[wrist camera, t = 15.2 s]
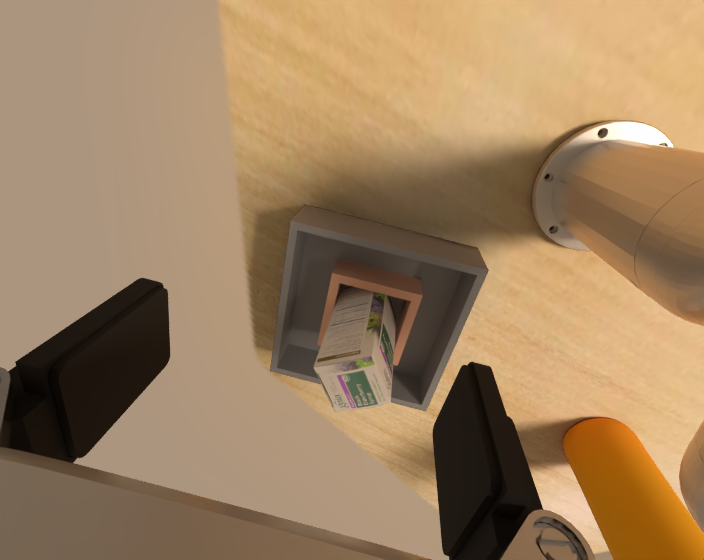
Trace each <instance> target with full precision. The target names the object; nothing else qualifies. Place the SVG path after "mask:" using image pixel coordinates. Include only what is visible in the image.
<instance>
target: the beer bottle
mask: <svg viewBox="0 0 704 560" xmlns="http://www.w3.org/2000/svg"><path fill="white" fill-rule="evenodd" d="M563 449H564V452H565V455H566V458H567V460H568V462H569V464H570V466H571V468H572V470H573V472H574V474H575V476H576V478H577V480H578V483H579V485H580V487H581V489H582V491H583V494H584V496H585V498H586V500H587V502H588V504H589V507H590V509H591V511H592V513H593V515H594V518H595V520H596V522H597V524H598V526H599V529H600V531H601V533H602V535H603V537H604V540H605V542H606V544H607V546H608V548H609V550H610V553H611V555H612V557H613V559H614V560H704V534H703V532H702V531H701V529H700V528H699V527H698V525H697V524H696V522H695V521H694V519H693V518H692V516H691V515H690V514H689V512H688V511H687V509H686V508H685V506H684V505H683V503H682V502H681V500H680V499H679V498H678V496H677V495H676V493H675V492H674V490H673V489H672V487H671V486H670V485H669V483H668V482H667V480H666V479H665V477H664V476H663V474H662V473H661V472H660V470H659V469H658V467H657V466H656V464H655V463H654V461H653V460H652V459H651V457H650V456H649V454H648V453H647V451H646V450H645V448H644V446H643V445H642V443H641V442H640V440H639V439H638V437H637V436H636V434H635V433H634V432H633V431H632V430H631V429H630V428H629V427H628V426H626V425H625V424H623V423H621V422H619V421H616V420H613V419H608V418H594V419H588V420H585V421H582V422H580V423H578V424H576V425H574V426H573V427H572V428H570V429H569V430H568V432H567V433H566V434H565V436H564V439H563Z"/></svg>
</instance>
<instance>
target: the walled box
mask: <svg viewBox="0 0 704 560" xmlns="http://www.w3.org/2000/svg"><path fill="white" fill-rule="evenodd" d="M488 271H489V270H488V268H487V266H486V264H485V262H484V260H483V258H482V256H481V254H480V252H479V250H478V248H476V247H472V246H468V245H464V244H460V243H456V242H452V241H448V240H444V239H440V238H436V237H432V236H428V235H424V234H420V233H416V232H412V231H408V230H404V229H400V228H396V227H392V226H388V225H384V224H380V223H376V222H372V221H368V220H364V219H360V218H356V217H352V216H348V215H344V214H340V213H336V212H332V211H328V210H324V209H320V208H316V207H312V206H308V205H305V206H304V207H303V208H302V209H301V210H300V211H299V212H298V213H297V214H296V215H295V216H294V218H293V219H292V220H291V221H290V228H289V235H288V243H287V250H286V257H285V265H284V272H283V279H282V287H281V294H280V301H279V309H278V316H277V323H276V330H275V338H274V345H273V352H272V360H271V367H270V371H272V372H276V373H279V374H283V375H287V376H291V377H295V378H299V379H303V380H306V381H310V382H314V383H318V384H321V382H320V379H319V377H318V375H317V373H316V372H315V370H314V364H315V361H316V359H317V356H318V353H319V350H320V347H321V344H322V342H323V339H324V336H325V333H326V330H327V328H328V325H329V322H330V319H331V316H332V313H333V310H334V308H335V305H336V302H337V299H338V296H339V294H340V291H341V290H345V289H348V288H352V287H357V288H361V289H365V290H369V291H372V292H376V293H380V294H384V295H388V296H390V299H391V301H392V304H393V308H394V311H395V315H396V330H395V346H394V361H393V374H392V389H391V402H392V403H395V404H399V405H403V406H407V407H411V408H415V409H419V410H422V411H426V410H427V408H428V406H429V403H430V401H431V399H432V397H433V394H434V392H435V390H436V388H437V385H438V383H439V381H440V379H441V376H442V374H443V372H444V370H445V367H446V365H447V363H448V361H449V358H450V356H451V354H452V352H453V349H454V347H455V345H456V343H457V340H458V338H459V336H460V334H461V331H462V329H463V327H464V325H465V322H466V320H467V318H468V316H469V313H470V311H471V309H472V307H473V304H474V302H475V300H476V298H477V295H478V293H479V291H480V289H481V286H482V284H483V282H484V280H485V277H486V275H487V273H488Z"/></svg>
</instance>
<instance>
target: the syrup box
mask: <svg viewBox="0 0 704 560" xmlns="http://www.w3.org/2000/svg"><path fill="white" fill-rule="evenodd" d="M395 330H396V315H395V311H394V308H393V304H392V301H391V299H390V296H388V295H384V294H380V293H376V292H372V291H369V290H365V289H361V288H357V287H352V288H348V289H345V290H341V291H340V294H339V296H338V299H337V302H336V305H335V308H334V310H333V313H332V316H331V319H330V322H329V325H328V328H327V330H326V333H325V336H324V339H323V342H322V344H321V347H320V350H319V353H318V356H317V359H316V361H315V364H314V370H315V372H316V373H317V375H318V377H319V379H320V382H321V384H322V387H323V389H324V391H325V393H326V395H327V397H328V399H329V401H330V403H331V405H332V407H333V409H334V411H351V410H360V409H366V408H372V407H377V406H381V405H385V404H389V403H391V389H392V374H393V361H394V346H395Z"/></svg>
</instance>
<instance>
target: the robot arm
mask: <svg viewBox="0 0 704 560" xmlns="http://www.w3.org/2000/svg"><path fill="white" fill-rule="evenodd" d="M599 130H601V133H600V134H599V135H597V134H598V131H599ZM546 174H548V177H547V178H546V179H544V177H545V175H546ZM532 207H533V213H534V216H535V219H536V222H537V223H538V225H539V226H540V228H541V230H542V231H543V232H544V233H545V234H546V235H547V236H548V237H549V238H551V239H552V240H553V241H555V242H556V243H558V244H560V245H562V246H564V247H566V248H570V249H574V250H579V251H593V252H594V253H595V254H596V255H598V256H599V257H600V258H601V259H603V260H604V261H605V262H606V263H608V264H609V265H610V266H611V267H613V268H614V269H615V270H616V271H618V272H619V273H620V274H621V275H623V276H624V277H625V278H626V279H628V280H629V281H630V282H631V283H633V284H634V285H635V286H636V287H638V288H639V289H640V290H641V291H643V292H644V293H645V294H646V295H648V296H649V297H651V298H652V299H653V300H654V301H656V302H657V303H658V304H659V305H661V306H662V307H663V308H665V309H666V310H668V311H669V312H671V313H672V314H674V315H676V316H678V317H680V318H682V319H684V320H686V321H689V322H692V323H695V324H698V325H702V326H704V153H701V152H696V151H690V150H684V149H678V148H675V147H674V145H673V143H672V142H671V141H670V140H669V138H668V137H667V136H666V135H665V134H664V133H663V132H661V131H660V130H658V129H657V128H655V127H654V126H651V125H648V124H645V123H643V122H637V121H629V120H614V121H607V122H601V123H598V124H595V125H592V126H589V127H587V128H585V129H583V130H581V131H579V132H577V133H575V134H573V135H572V136H571V137H569V138H568V139H567V140H565V141H564V142H563V143H561V144H560V145H559V146H558V147H557V148H556V149H555V150H554V151H553V152H552V153H551V154H550V156H549V157H548V159H547V160H546V161H545V163H544V164H543V165H542V167H541V169H540V171H539V173H538V175H537V177H536V181H535V184H534V187H533V194H532ZM552 226H553V227H552ZM550 227H552V229H549V228H550ZM169 358H170V338H169V312H168V292H167V289H165V288H164V287H163V285H162V283H160V282H157V281H153V280H149V279H145V278H140V279H138V280H136V281H135V282H133V283H132V284H131V285H129V286H128V287H126V288H124V289H123V290H121V291H120V292H118V293H117V294H116V295H114V296H113V297H111V298H110V299H108V300H107V301H105V302H104V303H102V304H101V305H99V306H98V307H96V308H95V309H93V310H92V311H90V312H89V313H87V314H86V315H84V316H83V317H81V318H80V319H78V320H77V321H76V322H74V323H72V324H71V325H69V326H68V327H66V328H65V329H64V330H62V331H61V332H59V333H58V334H56V335H55V336H53V337H52V338H50V339H49V340H47V341H46V342H44V343H43V344H41V345H40V346H38V347H37V348H36V349H34V350H32V351H31V352H29V353H28V354H26V355H25V356H23V357H22V358H20V359H19V360H18V361H16V362H15V363H16V367H14V368H13V369H11V370H10V371H7V370H6V369H4V368H1V367H0V560H430V559H427V558H424V557H420V556H417V555H413V554H410V553H407V552H403V551H400V550H396V549H393V548H389V547H386V546H382V545H379V544H375V543H371V542H368V541H364V540H360V539H357V538H353V537H349V536H345V535H342V534H338V533H335V532H330V531H327V530H324V529H320V528H316V527H313V526H309V525H305V524H302V523H298V522H294V521H290V520H287V519H283V518H279V517H276V516H272V515H268V514H264V513H260V512H257V511H253V510H249V509H246V508H242V507H238V506H234V505H230V504H227V503H223V502H219V501H215V500H211V499H208V498H204V497H200V496H197V495H193V494H189V493H185V492H182V491H178V490H174V489H170V488H166V487H162V486H159V485H155V484H151V483H147V482H143V481H139V480H136V479H132V478H128V477H124V476H120V475H116V474H113V473H109V472H104V471H101V470H97V469H93V468H89V467H86V466H81V465H78V464H74V463H73V462H74V461H75V460H76V459H77V458H82V457H83V456H85V455H86V454H87V453H88V452H89V451H90V450H91V449H92V448H93V447H94V445H95V444H96V443H97V442H98V441H99V440H100V439H101V438H102V437H103V435H104V434H105V433H106V432H107V431H108V430H109V429H110V428H111V427H112V426H113V424H114V423H115V422H116V421H117V420H118V419H119V418H120V417H121V415H122V414H123V413H124V412H125V411H126V410H127V409H128V407H130V405H131V404H132V403H133V402H134V401H135V400H136V399H137V398H138V396H139V395H140V394H141V393H142V392H143V391H144V390H145V389H146V387H147V386H148V385H149V384H150V383H151V382H152V381H153V380H154V379H155V378H156V376H157V375H158V374H159V373H160V372H161V371H162V370H163V369H164V368H165V366H166V365H167V363H168V361H169ZM433 445H434V456H435V468H436V479H437V491H438V503H439V514H440V525H441V538H442V548H443V552H444V554H445V555H447V556H449V560H595V556H594V554H593V552H592V550H591V548H590V546H589V544H588V543H587V541H586V540H585V538H584V537H583V536H582V534H581V533H580V532H579V531H578V530H577V529H576V528H575V527H574V526H573V525H572V524H571V523H570V522H569V521H567V520H566V519H564V518H563V517H562V516H560V515H558V514H556V513H554V512H551V511H548V510H543V508H542V505H541V502H540V499H539V496H538V493H537V490H536V487H535V484H534V481H533V478H532V475H531V472H530V469H529V466H528V463H527V460H526V458H525V455H524V452H523V449H522V446H521V443H520V440H519V437H518V434H517V431H516V428H515V425H514V423H513V421H512V419H511V418H510V417H508V416H507V415H506V412H505V408H504V405H503V402H502V399H501V396H500V393H499V390H498V387H497V384H496V381H495V378H494V375H493V372H492V369H491V367H489V366H486V365H482V364H478V363H474V362H470V363H469V364H468V366H467V365H463V366H462V367H461V369H460V371H459V373H458V375H457V377H456V379H455V381H454V383H453V386H452V388H451V390H450V392H449V394H448V396H447V398H446V400H445V403H444V405H443V407H442V409H441V411H440V413H439V415H438V417H437V420H436V422H435V424H434V428H433ZM679 479H680V487H681V492H682V495H683V498H684V501H685V503H686V505H687V507H688V510H689V512H690V513H691V515H692V517H693V518H694V520H695V521H696V523H697V524H698V526H699V527H700V528H701V530H702V531H703V532H704V421H703V422H702V424H701V425H700V427H699V429H698V431H697V432H696V434H695V436H694V437H693V439H692V440H691V442H690V444H689V445H688V447H687V449H686V451H685V453H684V456H683V459H682V462H681V465H680V473H679Z"/></svg>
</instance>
